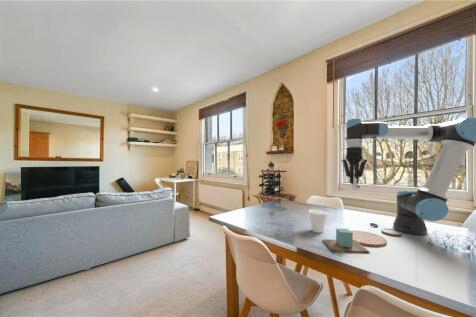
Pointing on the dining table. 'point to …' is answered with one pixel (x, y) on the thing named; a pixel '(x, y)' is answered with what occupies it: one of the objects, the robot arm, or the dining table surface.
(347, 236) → the teal block
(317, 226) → the cup
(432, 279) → the dining table surface
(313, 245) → the dining table surface
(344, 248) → the dark wooden tray
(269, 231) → the dining table surface
